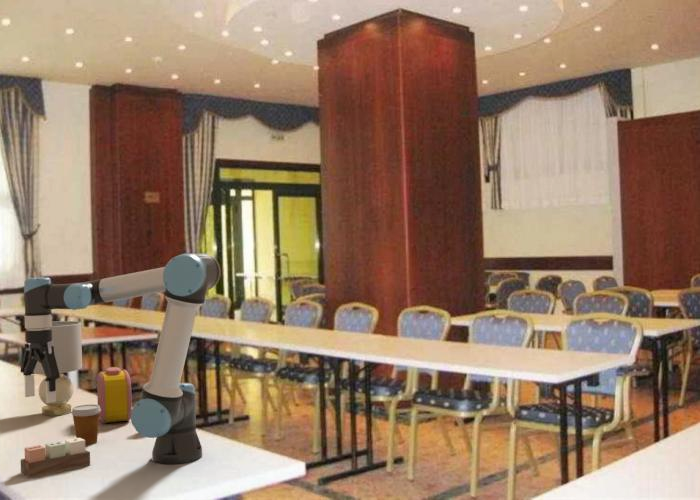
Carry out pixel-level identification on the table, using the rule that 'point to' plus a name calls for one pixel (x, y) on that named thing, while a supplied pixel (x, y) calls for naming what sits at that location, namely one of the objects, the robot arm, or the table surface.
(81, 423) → the disposable coffee cup
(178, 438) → the robot arm
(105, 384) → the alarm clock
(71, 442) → the key one
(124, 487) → the table surface
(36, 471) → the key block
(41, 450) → the key three
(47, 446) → the key two
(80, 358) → the lamp
